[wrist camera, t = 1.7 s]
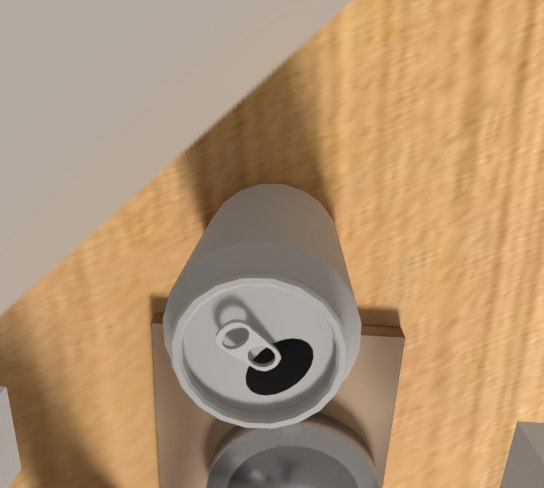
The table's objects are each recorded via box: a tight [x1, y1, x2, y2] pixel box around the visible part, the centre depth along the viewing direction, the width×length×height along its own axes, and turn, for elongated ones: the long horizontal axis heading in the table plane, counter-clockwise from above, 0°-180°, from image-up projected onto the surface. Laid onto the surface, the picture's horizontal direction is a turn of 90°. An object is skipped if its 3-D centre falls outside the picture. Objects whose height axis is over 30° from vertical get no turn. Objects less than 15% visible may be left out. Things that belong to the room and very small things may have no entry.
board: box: [151, 314, 405, 488], centre depth 31 cm, size 15×17×1 cm
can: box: [163, 184, 362, 429], centre depth 22 cm, size 8×8×12 cm
